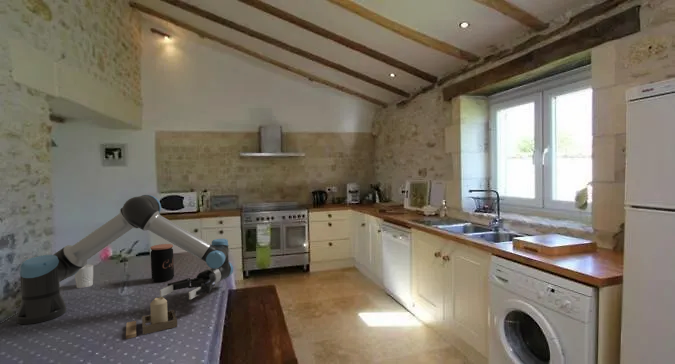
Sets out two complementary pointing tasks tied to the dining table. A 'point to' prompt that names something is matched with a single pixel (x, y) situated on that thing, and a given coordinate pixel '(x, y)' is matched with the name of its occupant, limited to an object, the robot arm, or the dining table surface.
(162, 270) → the coffee jar
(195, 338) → the dining table surface
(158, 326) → the wooden tray
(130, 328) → the strip
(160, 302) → the candle
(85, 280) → the white cup
